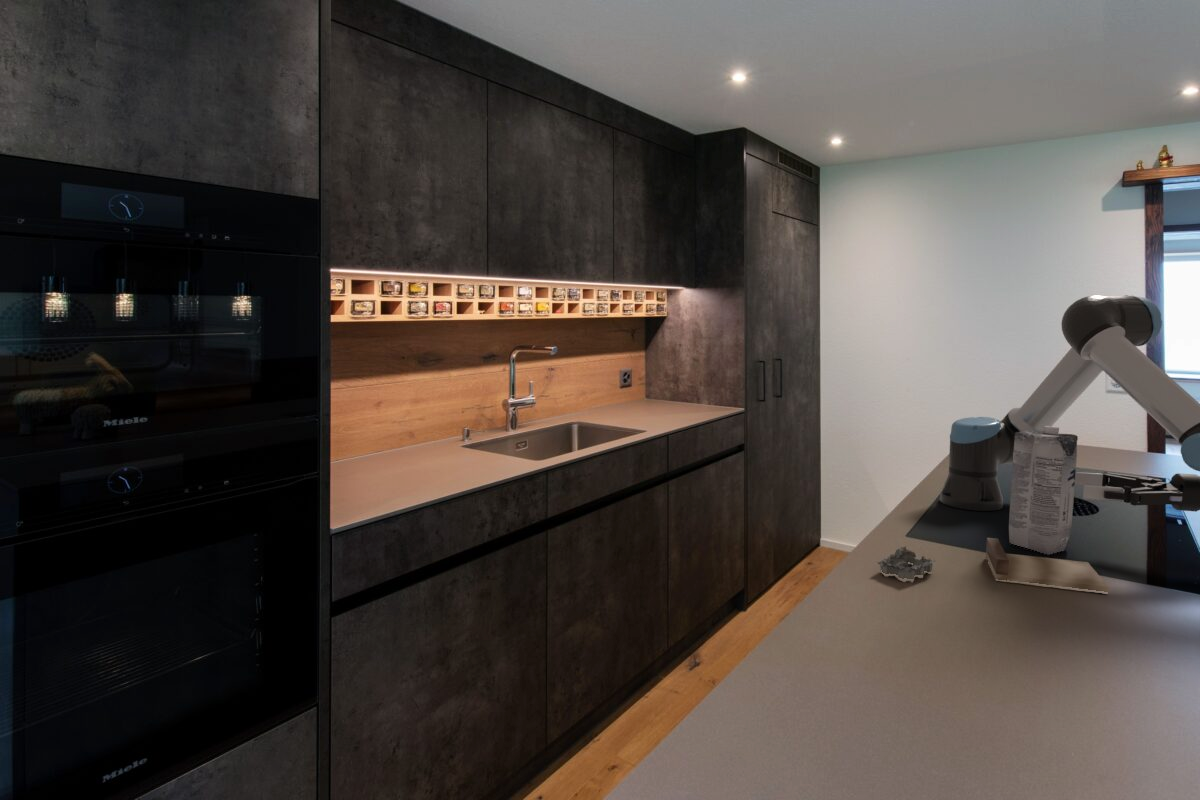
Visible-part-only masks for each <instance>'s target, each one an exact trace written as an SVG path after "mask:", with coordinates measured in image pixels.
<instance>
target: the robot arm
mask: <svg viewBox="0 0 1200 800" xmlns="http://www.w3.org/2000/svg"><path fill="white" fill-rule="evenodd" d="M1161 313H1162V312H1161V311H1160V309H1159V307H1158V306H1157V305H1156V304H1155V302H1153V301H1152V300H1150V299H1149V298H1146V297H1144V296H1135V295H1133V294H1131V295H1130V294H1127V295H1089V296H1088V295H1087V296H1084V297H1081V298H1080V299H1077V300H1075V301H1074V302H1073V303H1072V304H1071V305H1069V306H1068V308H1066V310H1065V311H1064V313H1063V315H1062V319H1061V323H1060V324H1061V332H1062V335H1063V337H1064V339H1065V341H1066V342H1067V343H1068V344H1069V346H1070V347H1071V348H1070V349H1069V350H1068V351H1067V353H1065V355H1064V356H1063V357H1062V359H1060V360H1059V362H1058V363H1057V364H1056V365H1055V366H1054V368H1053V369H1052V370H1051V371H1050V372H1049V374H1048V375H1047V376H1046V377H1045V378H1044V379H1043V381H1042V382H1041V383H1040V384H1039V385H1038V386H1037V388H1036V389H1035V390H1034V391H1033V393H1032V394H1031V395H1030V396H1029V397H1028V398H1027V400H1026V401H1024V403H1023V404H1022V405H1021V406H1020V407H1014V408H1012V409H1010V410H1009V412H1008V413H1006V415H1005V416H1004V417H1003V419H1001V420H999V419H998V418H995V417H990V416H977V417H974V416H972V417H964V418H960V419H957V420H955V421H954V422H953V423H952V425H951V428H950V433H949V457H948V459H949V461H948V474H947V476H946V479H945V482H944V484H943V486H942V488H941V491H940V499H939V501H940V502H941V504H943V505H945V506H949V507H952V508H956V509H962V510H966V511H967V510H968V511H977V512H993V511H998V510H1002V509H1003V508H1004V507H1003V506H1004V498H1003V497H1004V496H1003V494H1002V491H1001V488H1000V484H999V481H998V467H999V465H1010V464H1012V465H1013V452H1014V441H1015V433H1016V432H1022V431H1028V430H1042V431H1043V430H1044V426H1049V427H1054V425H1055V423H1056V422H1057V421H1058V420H1059V419H1060V418H1061V417H1062V416H1063V415H1064V414H1065V413H1066V411H1067V410H1068V409H1069V408H1070V407H1071V406H1072V405H1073V404H1074V403H1075V402H1076V400H1077V399H1078V398H1080V397H1081V395H1082V394H1083V393H1084V392H1085V391H1086V390H1087V389H1088V387H1090V385H1091V384H1092V383H1093V382H1094V381H1095V380H1096V379H1097V377H1098V376H1099V375H1101V373H1102V372H1104V373H1105V374H1106V375H1107V376H1108V377H1110V378H1111V380H1113V381H1114V383H1116V384H1117V385H1118V386H1119V387H1120V388H1121V389H1122V390H1123V391H1124V392H1125V393H1126V394H1128V396H1130V397H1131V399H1133V400H1134V401H1135V402H1136V403H1137V404H1138V405H1139V406H1140V407H1141V408H1142V409H1143V410H1144V411H1145V412H1146V413H1147V414H1148V415H1149V416H1151V418H1153V420H1155V421H1156V422H1157V423H1158V424H1159V425H1160V426H1161V427H1162V428H1163V429H1164V430H1166V431H1167V433H1168V434H1170V435H1171V437H1173V439H1174V440H1176V441H1177V442H1178V443H1179V444H1180V445H1181V446H1180V455H1181V457H1182V461H1183V462H1184V464H1186V465H1187V466H1188V468H1191V469H1192V470H1194V471H1195V472H1196V471H1198V472H1200V402H1199V401H1197V400H1196V399H1195V398H1194V397H1193V396H1192V395H1191V394H1190V393H1189V392H1188V391H1186V390H1185V388H1183V387H1182V386H1181V385H1180V384H1179V383H1177V382H1176V381H1175V380H1174V379H1173V378H1172V377H1171V376H1169V375H1168V374H1167V373H1166V372H1165V371H1164V370H1163V369H1162V368H1161V367H1159V366H1158V365H1157V364H1156V363H1155V362H1154V361H1152V360H1151V359H1150V358H1149V357H1148V356H1147V355H1146V354H1145V353H1144V352H1142V350H1141V349H1139V348H1138V347H1142V346H1145V345H1147V344H1149V343H1151V342H1152V341H1154V340H1155V339H1157V337H1158V336H1159V333H1160V332H1161V329H1162V325H1163V321H1162V314H1161ZM1076 485H1077V486H1083V488H1082V489H1083V490H1082V491H1083V492H1082V499H1084V500H1094V501H1095V500H1096V501H1109V502H1111V501H1112V502H1124V503H1125V504H1130V505H1132V506H1158V505H1162V506H1163V505H1165V506H1166V505H1171V506H1172V508H1173V509H1174V510H1176V511H1186V512H1199V511H1200V475H1198V474H1193V473H1192V474H1191V473H1175V474H1173V475H1172V476H1171V479H1170V481H1169V482H1167V481H1166V482H1164V481H1163V479H1160V478H1157V477H1147V476H1139V475H1131V474H1124V473H1123V474H1122V473H1114V472H1108V471H1103V472H1102V473H1097V472H1082V471H1081V472H1080V471H1076V473H1075V486H1076Z"/></svg>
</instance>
